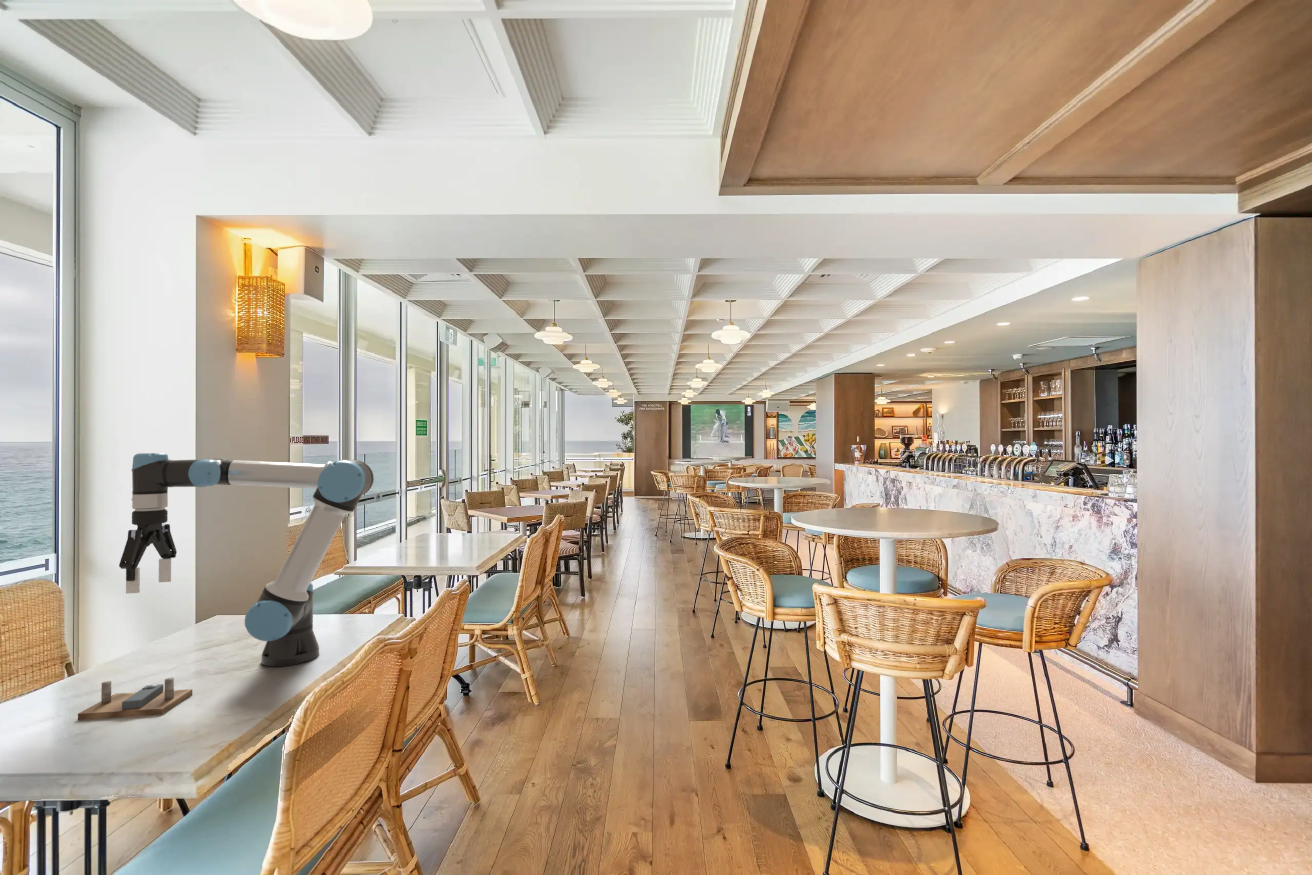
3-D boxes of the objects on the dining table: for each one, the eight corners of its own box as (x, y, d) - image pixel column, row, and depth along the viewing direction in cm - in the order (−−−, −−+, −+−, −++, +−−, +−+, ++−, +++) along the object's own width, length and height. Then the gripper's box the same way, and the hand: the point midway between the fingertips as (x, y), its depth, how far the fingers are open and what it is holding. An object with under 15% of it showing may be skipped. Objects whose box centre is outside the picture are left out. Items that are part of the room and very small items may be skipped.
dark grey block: (121, 709, 145) (121, 701, 145) (145, 692, 155) (146, 685, 156) (140, 708, 146) (140, 699, 146) (163, 691, 156) (164, 683, 156)
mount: (192, 694, 158) (192, 669, 158) (162, 714, 146) (162, 687, 146) (114, 699, 155) (115, 673, 155) (77, 720, 143) (78, 692, 144)
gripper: (162, 505, 178) (162, 578, 177) (101, 514, 153) (100, 598, 153) (191, 504, 179) (191, 577, 179) (135, 513, 155) (134, 597, 154)
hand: (149, 587), depth 166 cm, fingers open, 13 cm apart
